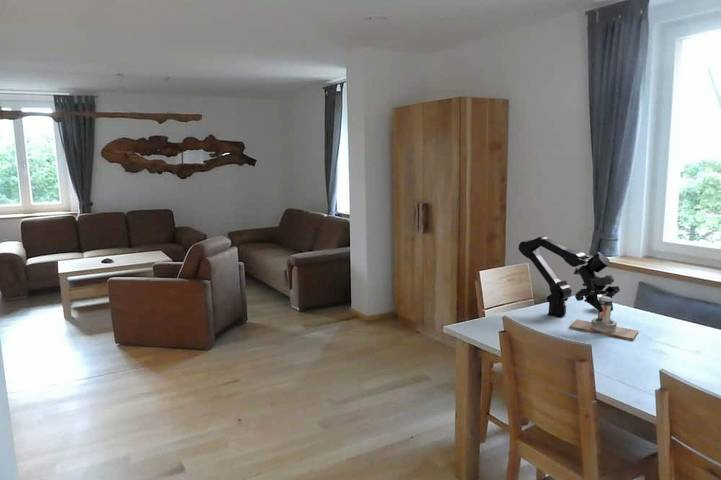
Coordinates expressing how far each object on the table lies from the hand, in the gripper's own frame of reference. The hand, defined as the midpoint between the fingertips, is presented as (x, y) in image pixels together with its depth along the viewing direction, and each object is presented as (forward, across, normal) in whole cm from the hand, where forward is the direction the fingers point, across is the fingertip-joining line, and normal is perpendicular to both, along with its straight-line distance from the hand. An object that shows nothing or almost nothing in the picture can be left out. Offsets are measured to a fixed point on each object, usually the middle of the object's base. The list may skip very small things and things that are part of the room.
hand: (607, 311), depth 209 cm
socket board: (+5, 0, +7) cm, 9 cm away
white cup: (-11, +20, +24) cm, 33 cm away
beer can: (+4, 0, +6) cm, 7 cm away
